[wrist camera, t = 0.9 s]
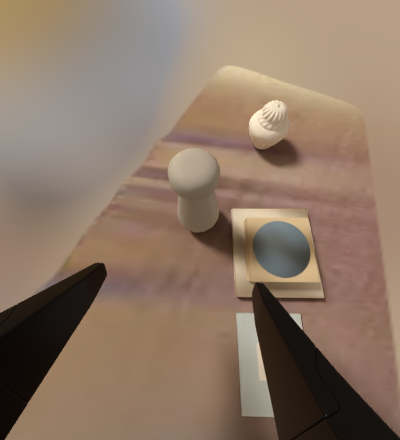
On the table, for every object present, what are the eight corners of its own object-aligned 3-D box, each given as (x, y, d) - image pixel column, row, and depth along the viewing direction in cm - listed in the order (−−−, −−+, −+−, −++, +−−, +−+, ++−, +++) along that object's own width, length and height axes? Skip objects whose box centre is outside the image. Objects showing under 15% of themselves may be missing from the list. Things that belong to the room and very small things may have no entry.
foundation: (318, 296, 21) (338, 301, 18) (235, 295, 21) (240, 300, 18) (302, 211, 24) (316, 203, 21) (230, 211, 25) (234, 203, 22)
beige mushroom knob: (222, 207, 25) (242, 147, 12) (209, 241, 23) (216, 211, 11) (188, 195, 26) (174, 126, 13) (173, 227, 24) (141, 184, 12)
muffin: (241, 129, 29) (253, 88, 22) (275, 128, 29) (296, 86, 22) (245, 158, 27) (259, 122, 21) (281, 156, 27) (306, 120, 21)
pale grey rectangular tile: (313, 415, 18) (317, 419, 17) (241, 413, 18) (242, 417, 17) (298, 313, 20) (300, 314, 20) (236, 312, 21) (236, 313, 20)
